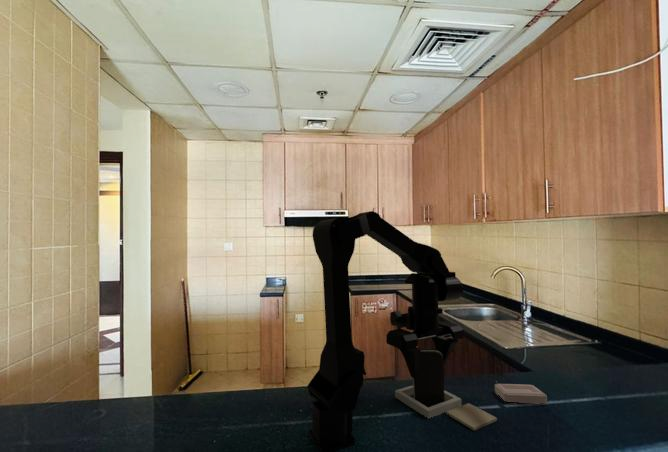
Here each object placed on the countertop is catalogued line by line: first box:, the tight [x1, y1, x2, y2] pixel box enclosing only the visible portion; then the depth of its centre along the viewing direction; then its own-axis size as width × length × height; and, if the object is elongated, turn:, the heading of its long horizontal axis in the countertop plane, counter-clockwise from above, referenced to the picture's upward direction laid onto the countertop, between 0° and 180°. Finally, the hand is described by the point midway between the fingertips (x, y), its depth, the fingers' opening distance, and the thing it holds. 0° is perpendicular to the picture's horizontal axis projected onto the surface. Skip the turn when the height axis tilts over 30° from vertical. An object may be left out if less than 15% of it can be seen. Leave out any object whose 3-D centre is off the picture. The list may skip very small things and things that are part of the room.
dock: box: [394, 384, 463, 420], centre depth 66 cm, size 10×10×2 cm
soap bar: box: [494, 383, 548, 405], centre depth 68 cm, size 5×9×2 cm, turn 86°
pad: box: [445, 402, 498, 431], centre depth 60 cm, size 7×6×1 cm
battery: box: [411, 347, 446, 406], centre depth 67 cm, size 7×4×11 cm, turn 91°
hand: (426, 373), depth 67 cm, fingers open, 8 cm apart
